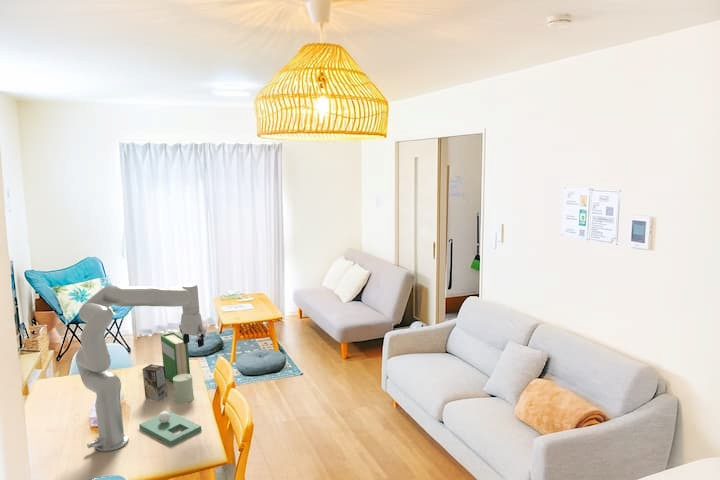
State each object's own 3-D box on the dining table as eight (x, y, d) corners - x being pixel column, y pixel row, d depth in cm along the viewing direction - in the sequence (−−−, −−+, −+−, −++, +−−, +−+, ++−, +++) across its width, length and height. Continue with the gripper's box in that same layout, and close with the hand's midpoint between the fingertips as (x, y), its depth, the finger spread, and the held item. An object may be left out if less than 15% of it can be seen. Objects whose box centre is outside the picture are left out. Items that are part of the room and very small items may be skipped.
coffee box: (168, 396, 266) (165, 366, 264) (159, 402, 260) (156, 371, 258) (154, 393, 270) (151, 363, 267) (144, 399, 264) (141, 368, 261)
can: (188, 404, 257) (186, 381, 255) (170, 402, 259) (168, 379, 257) (197, 395, 266) (195, 373, 264) (180, 394, 268) (178, 372, 266)
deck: (171, 445, 221) (170, 441, 221) (139, 428, 236) (139, 424, 235) (201, 430, 233) (201, 425, 233) (169, 414, 247) (169, 410, 247)
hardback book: (190, 383, 281) (187, 340, 277) (177, 387, 276) (173, 343, 272) (177, 373, 294) (174, 332, 290) (164, 377, 289) (160, 335, 285)
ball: (162, 426, 233) (161, 415, 232) (156, 423, 236) (155, 412, 235) (172, 421, 237) (172, 411, 236) (166, 418, 240) (165, 408, 239)
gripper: (171, 309, 251) (174, 344, 254) (198, 314, 242) (200, 350, 245) (184, 305, 257) (187, 339, 260) (210, 310, 249) (212, 345, 252)
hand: (193, 344), depth 253 cm, fingers open, 9 cm apart
